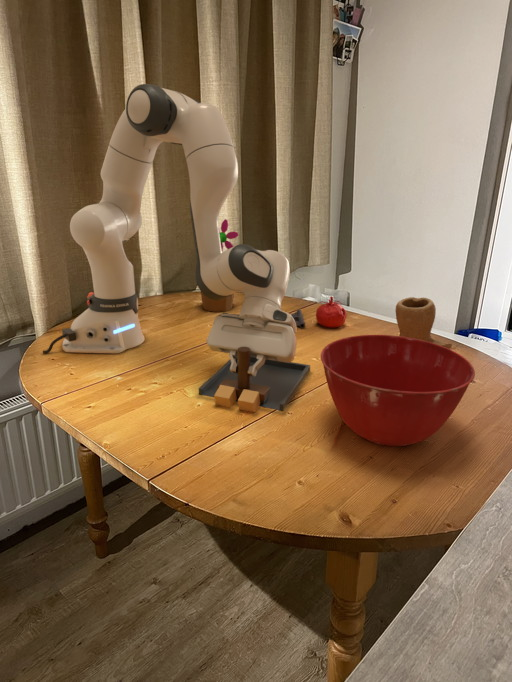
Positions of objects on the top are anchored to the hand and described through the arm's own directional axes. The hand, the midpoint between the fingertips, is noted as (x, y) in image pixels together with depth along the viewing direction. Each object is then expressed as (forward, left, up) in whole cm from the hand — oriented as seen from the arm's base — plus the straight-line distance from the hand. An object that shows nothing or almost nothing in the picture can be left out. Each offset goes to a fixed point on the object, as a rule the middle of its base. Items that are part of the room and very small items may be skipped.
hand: (242, 373), depth 108 cm
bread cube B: (-4, -1, -7) cm, 7 cm away
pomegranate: (+35, +47, -7) cm, 59 cm away
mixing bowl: (+28, -15, -7) cm, 32 cm away
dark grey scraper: (+20, +53, -7) cm, 57 cm away
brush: (+1, +1, -6) cm, 6 cm away
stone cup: (+53, +23, -7) cm, 58 cm away
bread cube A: (+1, -4, -7) cm, 7 cm away
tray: (+5, +8, -7) cm, 12 cm away
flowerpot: (+1, +70, -7) cm, 71 cm away
